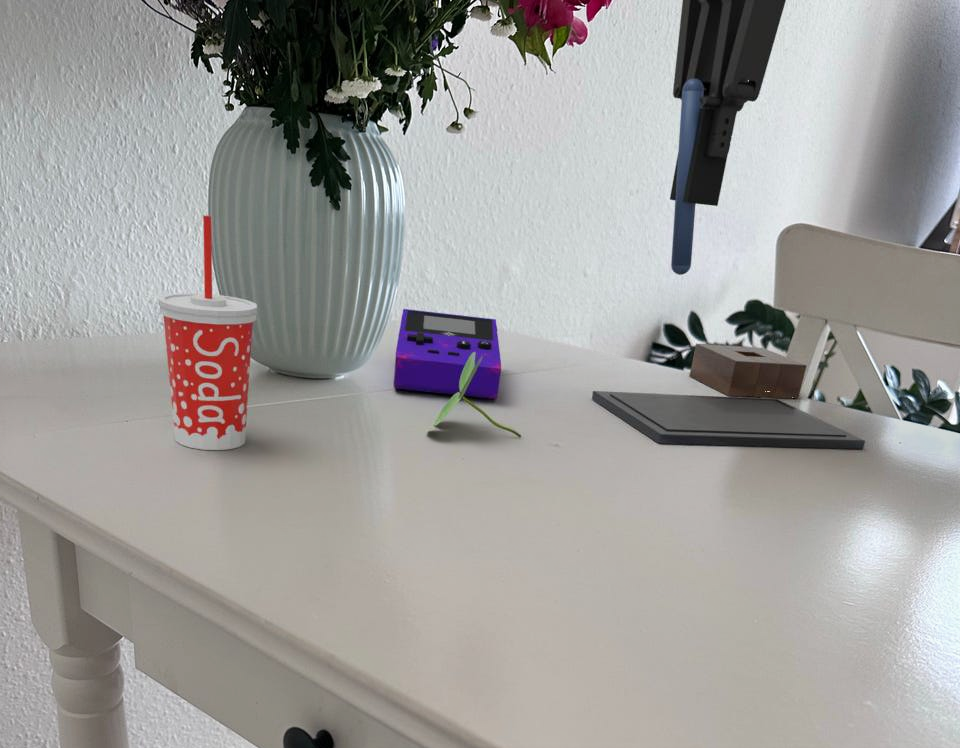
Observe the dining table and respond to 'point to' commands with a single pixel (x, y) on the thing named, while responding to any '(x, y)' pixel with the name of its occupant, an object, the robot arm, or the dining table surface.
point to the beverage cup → (208, 362)
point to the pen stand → (747, 371)
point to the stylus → (685, 177)
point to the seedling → (463, 385)
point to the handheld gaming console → (446, 353)
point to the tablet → (724, 421)
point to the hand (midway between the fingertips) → (693, 202)
